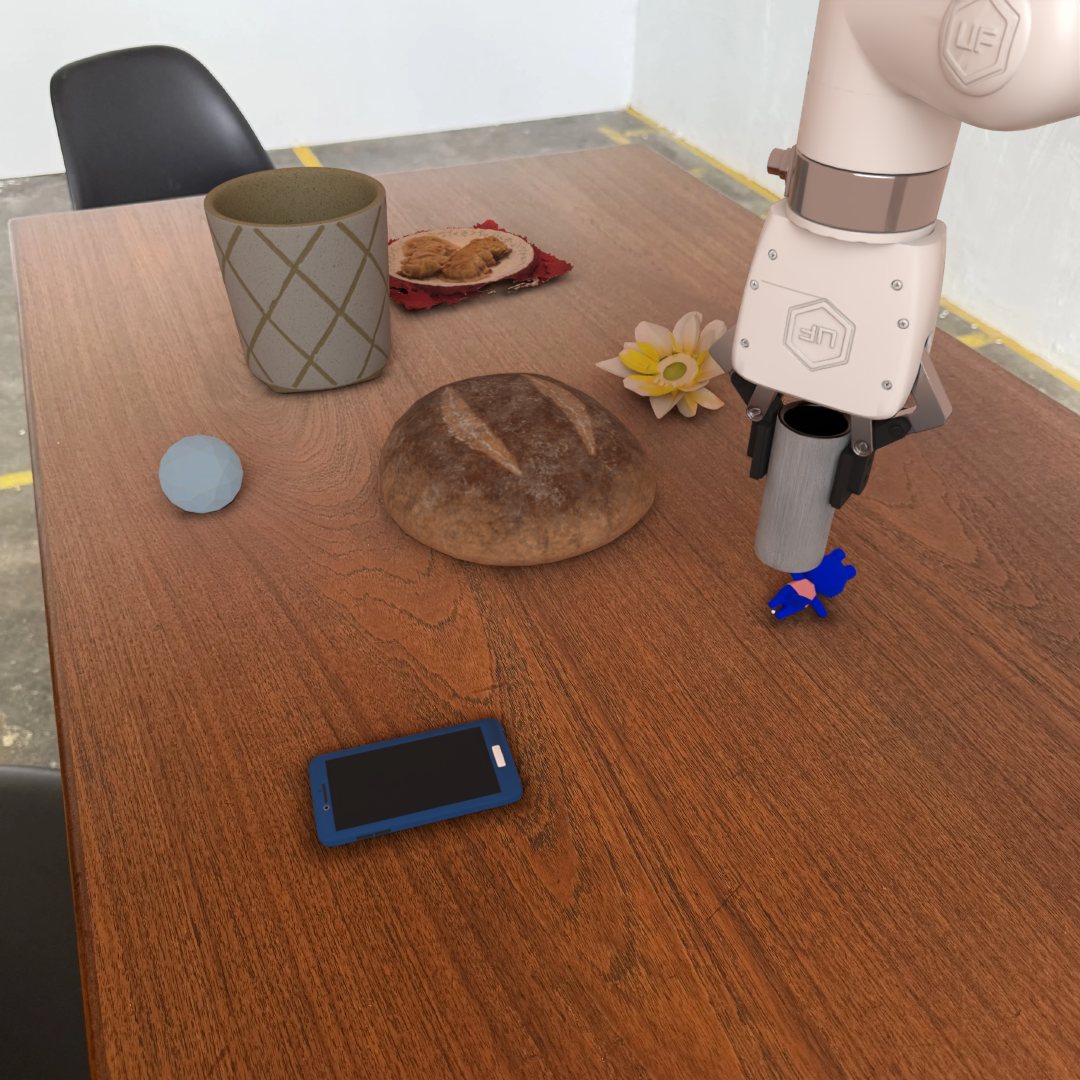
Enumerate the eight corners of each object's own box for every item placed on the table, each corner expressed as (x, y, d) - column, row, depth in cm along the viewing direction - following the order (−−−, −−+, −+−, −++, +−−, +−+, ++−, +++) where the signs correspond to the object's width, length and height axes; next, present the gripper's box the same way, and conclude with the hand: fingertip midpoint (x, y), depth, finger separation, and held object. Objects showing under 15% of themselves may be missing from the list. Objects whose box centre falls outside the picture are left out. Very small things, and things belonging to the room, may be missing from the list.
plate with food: (575, 280, 135) (576, 256, 133) (410, 317, 124) (408, 292, 122) (491, 229, 151) (490, 207, 149) (337, 258, 140) (335, 235, 138)
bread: (439, 615, 81) (431, 521, 74) (348, 455, 99) (335, 370, 93) (703, 534, 89) (715, 444, 83) (573, 402, 108) (575, 320, 102)
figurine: (853, 598, 82) (865, 555, 79) (801, 641, 78) (811, 598, 75) (807, 572, 85) (817, 529, 82) (754, 612, 81) (762, 569, 78)
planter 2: (818, 580, 62) (851, 444, 55) (747, 565, 63) (772, 429, 57) (827, 539, 65) (859, 406, 59) (759, 525, 66) (784, 393, 60)
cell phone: (526, 800, 66) (526, 794, 65) (319, 851, 63) (318, 844, 62) (498, 721, 71) (498, 714, 71) (307, 764, 68) (306, 757, 68)
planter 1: (417, 386, 111) (403, 214, 98) (247, 414, 106) (210, 236, 93) (382, 317, 125) (366, 159, 113) (231, 339, 120) (197, 175, 108)
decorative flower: (576, 364, 111) (600, 283, 106) (654, 364, 117) (681, 287, 111) (642, 434, 102) (673, 349, 96) (724, 430, 107) (758, 350, 102)
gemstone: (161, 444, 95) (155, 432, 90) (243, 442, 97) (241, 431, 92) (164, 520, 94) (158, 513, 90) (246, 518, 96) (244, 510, 92)
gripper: (682, 177, 51) (655, 466, 62) (1017, 249, 43) (917, 564, 54) (745, 143, 55) (709, 417, 67) (1057, 202, 48) (957, 501, 59)
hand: (803, 480), depth 60 cm, fingers closed on planter 2, 4 cm apart
